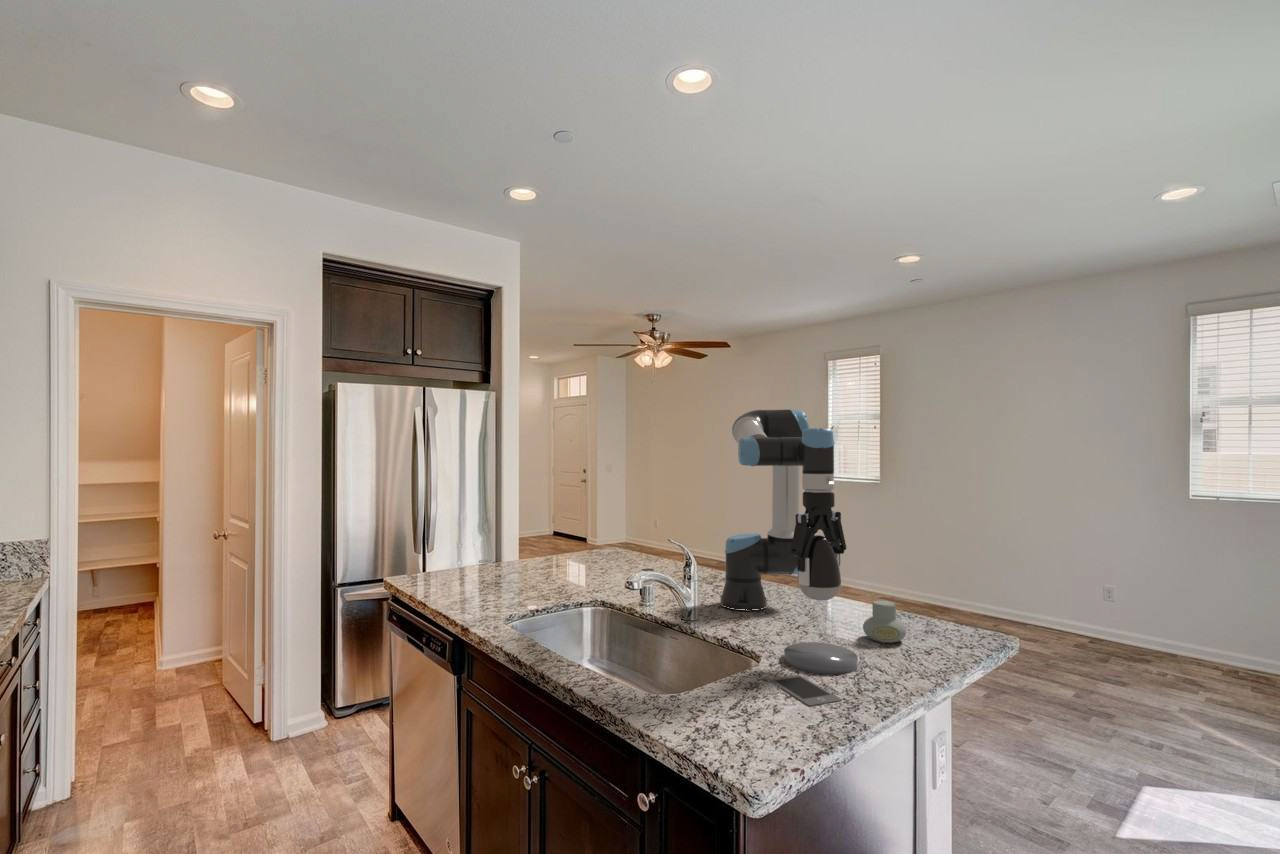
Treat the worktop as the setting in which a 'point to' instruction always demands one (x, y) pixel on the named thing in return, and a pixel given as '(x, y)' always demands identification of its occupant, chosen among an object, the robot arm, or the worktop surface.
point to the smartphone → (804, 690)
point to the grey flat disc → (820, 658)
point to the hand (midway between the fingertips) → (819, 582)
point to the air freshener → (884, 623)
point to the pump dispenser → (822, 570)
